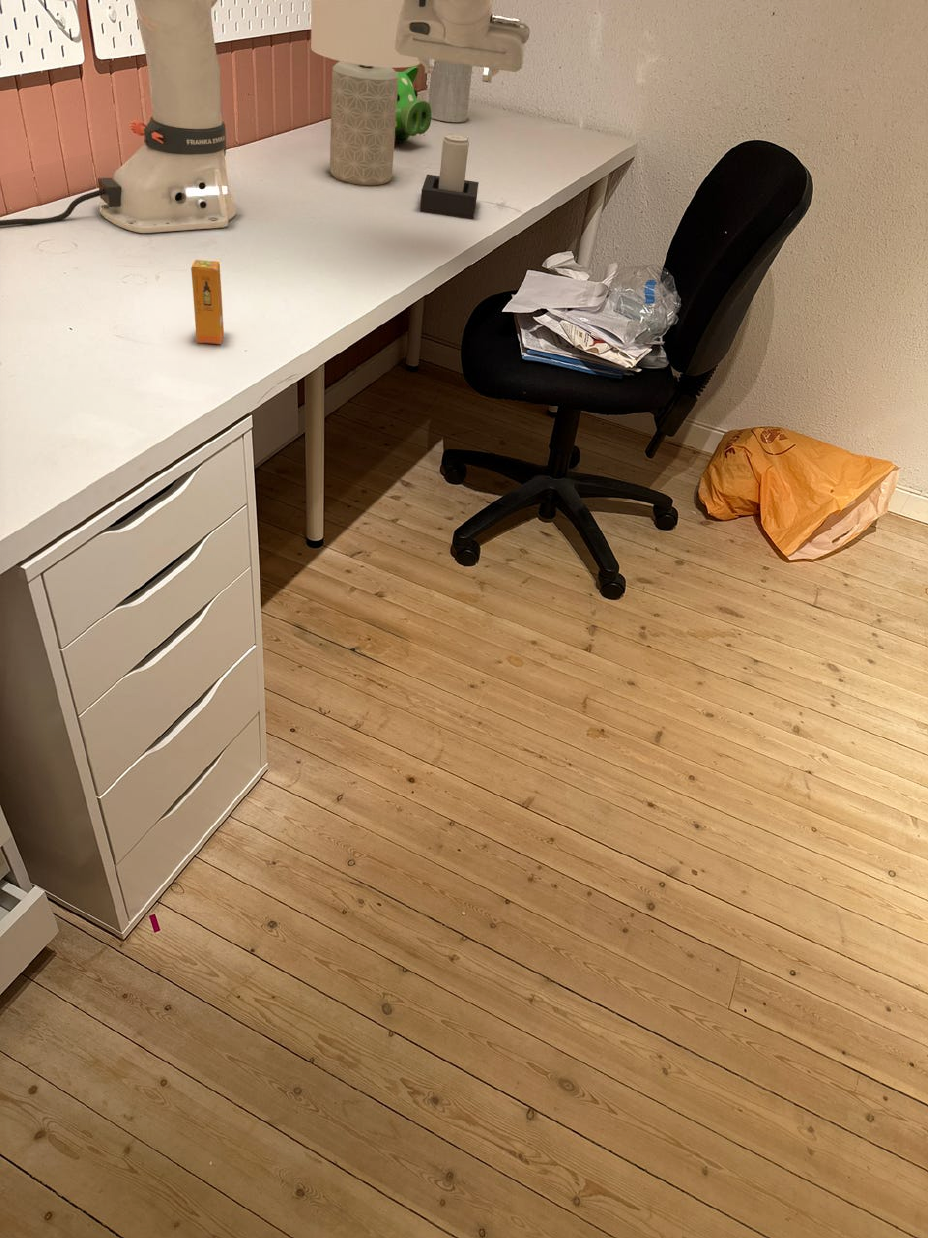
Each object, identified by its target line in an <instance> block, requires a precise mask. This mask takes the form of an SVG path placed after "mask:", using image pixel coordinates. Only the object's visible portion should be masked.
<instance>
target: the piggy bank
mask: <svg viewBox="0 0 928 1238" xmlns="http://www.w3.org/2000/svg"><path fill="white" fill-rule="evenodd" d="M419 70H420V69H419V66H417V65H416V66H412V67H407V69H405V70H404V71H395V72H396V73H397V74H398V75H399V80H398V95H397V110H396V125H395V140H394V143H395V142H399V143H406V142H407V140H408V139H409V137H415V136H417V135H423V134H425V133H426V132H427V131H429V129H430V127H431V123H432V118H431V106H430V104H429V103H428V102H429V101H427V100H425V99H418V95H419V94H418V91H417V90H416V89H414V85H413V84H414V82H415V79H416V78H417V76H418V74H419Z"/></svg>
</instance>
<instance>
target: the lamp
mask: <svg viewBox="0 0 928 1238" xmlns="http://www.w3.org/2000/svg"><path fill="white" fill-rule="evenodd" d="M403 2H404V0H311V17H310V18H311V22H310V24H311V25H310V26H311V27H310V29H311V30H310V49H311V51H312V52H313V53H315V54H317V55H319V56H321V57H325V58H326V59H331V60H334V61H338V62H336V63H335V64H334V65H333V66H332V68H331V102H330V104H331V105H330V140H329V141H330V143H329V144H330V145H329V172H330V174H331V175H332V177H334V178H335V179H337V180H339V181H341V182H345V183H349V184H352V185H360V186H381V185H385V184H387V183H389V182H390V181H391V180H392V178H393V167H394V156H395V155H394V153H395V142H394V140H395V125H396V110H397V95H398V80H399V75H398V74H397V73H396V72H397V71H396V70H395V69H398V68H399V69H400V68H410V67H413V66H416V67H417V66H419V65H421V62H420V61H419V60H418V57H412V56H405V55H401V54H399V53H398V52H397V51H396V49H395V40H396V32H397V25H398V19H399V13H400V9H401V6H402V4H403ZM394 68H395V69H394Z"/></svg>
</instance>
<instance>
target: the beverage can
mask: <svg viewBox="0 0 928 1238" xmlns="http://www.w3.org/2000/svg"><path fill="white" fill-rule="evenodd" d="M469 144H470V142H469V137H468V136H465V135H463V134H459V133H445V134H444V135H443V139H442V147H441V148H442V149H441V157H440V165H439V166H440V167H439V175H438V176H439V187H438V189H443V190H450V191H457V192H463V189H464V180H466V171H467V161H468V153H469Z"/></svg>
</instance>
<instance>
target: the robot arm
mask: <svg viewBox="0 0 928 1238" xmlns="http://www.w3.org/2000/svg"><path fill="white" fill-rule="evenodd" d="M133 1H134V5H135V12H136V17H137V22H138V27H139V32H140V36H141V40H142V43H143V44H142V45H143V48H144V53H145V57H146V64H147V73H148V74H147V75H148V84H149V93H150V94H149V95H150V106H151V107H150V108H151V117H150V118H149V121H148V123H147V124H146V123H144V122H142V121H141V120H139V119H133V120H132V121H131V123H130V131H132V133H133V134H135V135H136V134H137V135H138V136H140V137H143V136H144V139H143V144H142V145H141V147H140V148H139V149H137V150H136V151H135V152H134V153H133V154H132V155H131V156H130V157H129V158H128V159H127V160H126V161H125V162H124V163H123V164H122V165H120V167H118V168H117V169H116V170H115V171H114V174H113V178H112V177H97V184H98V189H97V190H95V191H91V192H89V193H86V194H83V195H80V196H78V197H77V198H75V199H74V200H73V201H72V202H71V203H70V204H69V205H68V207H67V208H66V210H65V211H64V212H62V213H60V214H58V215H55V216H52V217H51V216H50V217H44V218H11V219H0V227H5V226H15V225H43V224H50V223H56V222H60V221H63V220H65V219H67V218H69V216H71V214H72V213H73V212H74V210H75V208H76V207H77V206H79V205H80V204H82V203H83V202H86V201H88V200H90V199H94V198H97V197H99V198H100V199H101V200H102V201H101V202H100V203H99V213H100V215H101V216H102V217H103V218H105V219H106V220H107V221H109V222H110V223H112V224H114V225H115V226H118V227H119V228H122V229H124V230H128V231H130V232H135V233H139V234H151V233H165V232H177V231H193V230H194V231H195V230H207V229H220V228H221V229H222V228H227V227H228V226H229V221H230V220H231V219H233V218H234V217H235V216H236V214H237V210H236V206H235V203H234V200H233V197H232V193H231V188H230V183H229V177H228V172H227V171H228V170H227V162H226V154H227V134H226V133H227V132H226V124H225V122H224V120H223V105H222V104H223V103H222V102H223V101H222V83H221V82H222V81H221V67H220V63H219V60H218V54H217V50H216V49H217V48H216V42H215V36H214V35H215V34H214V28H213V19H212V18H213V17H212V8H213V7H215V5H216V4H217V2H218V0H133ZM493 3H494V0H404V2H403V4H402V6H401V9H400V13H399V19H398V25H397V32H396V40H395V49H396V51H397V52H398V53H399V54H401V55H405V56H412V57H418V60H419V61H420V62H421V63H420V65H422V66H423V67H424V74H430V75H431V74H434V69H435V60H438V61H445V62H451V63H458V64H465V65H471V66H472V67H478V68H483V72H482V79H481V80H482V81H481V82H484V83H488V84H489V83H490V84H492V78H493V77H495V76H496V75H497V74H498V73H500V71H504V72H511V73H517V72H518V71H520V70H522V68H523V62H524V55H525V45H526V43H527V42H528V40H529V38H530V32H531V31H530V26H529V25H528V24H526V23H525V22H523V21H522V19H520V18H517V17H508V16H507V17H506V16H503V15H497V14H493V13H492V12H493Z"/></svg>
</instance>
